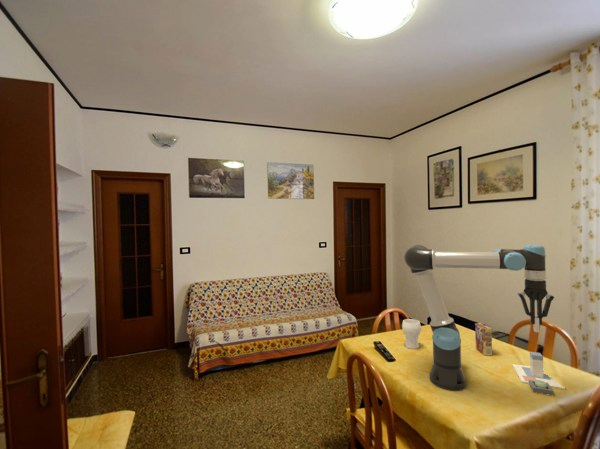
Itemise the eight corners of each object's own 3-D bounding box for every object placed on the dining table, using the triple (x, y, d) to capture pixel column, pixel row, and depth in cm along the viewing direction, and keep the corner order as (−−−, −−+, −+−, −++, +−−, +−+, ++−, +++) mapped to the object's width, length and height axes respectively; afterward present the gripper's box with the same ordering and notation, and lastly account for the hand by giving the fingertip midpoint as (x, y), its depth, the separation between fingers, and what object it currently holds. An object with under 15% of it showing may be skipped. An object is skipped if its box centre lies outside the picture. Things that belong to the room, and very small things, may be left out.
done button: (536, 389, 128) (536, 383, 128) (533, 385, 132) (533, 379, 132) (548, 391, 126) (547, 385, 126) (544, 387, 130) (544, 381, 130)
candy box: (493, 355, 162) (492, 328, 163) (485, 356, 162) (484, 328, 162) (482, 348, 171) (481, 322, 171) (475, 349, 171) (474, 323, 171)
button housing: (533, 392, 127) (533, 387, 127) (528, 384, 134) (528, 379, 134) (553, 395, 124) (553, 391, 124) (547, 387, 131) (547, 382, 131)
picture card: (521, 382, 135) (521, 380, 135) (512, 365, 151) (512, 363, 151) (566, 389, 128) (566, 388, 128) (551, 370, 145) (551, 369, 145)
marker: (532, 376, 139) (532, 355, 139) (530, 372, 143) (529, 351, 143) (543, 377, 137) (542, 356, 137) (540, 373, 141) (540, 353, 141)
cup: (422, 344, 179) (422, 320, 179) (419, 351, 170) (418, 325, 170) (404, 341, 185) (404, 317, 185) (400, 347, 176) (400, 322, 176)
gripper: (519, 280, 132) (521, 332, 132) (556, 281, 126) (557, 336, 126) (515, 277, 139) (516, 326, 139) (550, 278, 133) (551, 330, 133)
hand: (536, 331), depth 133 cm, fingers closed
